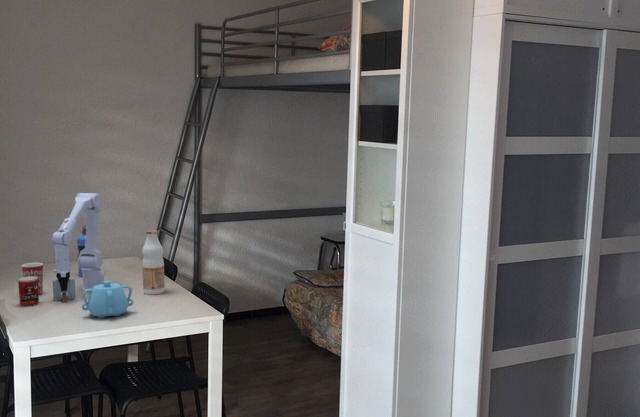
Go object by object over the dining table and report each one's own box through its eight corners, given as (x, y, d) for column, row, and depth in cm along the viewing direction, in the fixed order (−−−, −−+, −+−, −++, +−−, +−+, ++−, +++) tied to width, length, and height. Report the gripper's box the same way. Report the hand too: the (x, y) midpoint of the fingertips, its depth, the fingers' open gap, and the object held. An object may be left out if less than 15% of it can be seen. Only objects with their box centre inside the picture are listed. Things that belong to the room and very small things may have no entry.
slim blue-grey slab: (75, 297, 316) (74, 278, 315) (75, 298, 314) (74, 279, 313) (53, 299, 313) (52, 280, 312) (53, 300, 311) (52, 281, 310)
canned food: (20, 307, 301) (19, 281, 300) (18, 302, 308) (17, 277, 307) (40, 304, 304) (38, 279, 303) (38, 300, 311) (36, 275, 310)
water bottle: (102, 274, 361) (99, 225, 358) (87, 278, 353) (84, 227, 350) (89, 272, 366) (87, 223, 363) (74, 276, 358) (72, 226, 355)
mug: (44, 295, 320) (42, 265, 318) (22, 297, 317) (20, 267, 315) (45, 289, 332) (44, 260, 330) (24, 290, 329) (23, 261, 327)
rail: (66, 295, 319) (65, 289, 319) (66, 302, 308) (66, 295, 308) (62, 296, 319) (62, 289, 319) (62, 302, 308) (62, 295, 307)
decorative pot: (108, 322, 278) (106, 288, 277) (78, 316, 286) (76, 283, 284) (137, 312, 293) (136, 279, 291) (108, 307, 300) (107, 275, 298)
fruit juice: (141, 295, 320) (139, 232, 316) (145, 289, 329) (143, 229, 326) (162, 294, 320) (160, 232, 317) (166, 289, 330) (164, 229, 326)
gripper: (52, 256, 317) (54, 287, 318) (52, 263, 303) (54, 294, 305) (69, 255, 319) (71, 285, 321) (70, 261, 306) (71, 293, 307)
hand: (64, 290), depth 313 cm, fingers open, 3 cm apart
